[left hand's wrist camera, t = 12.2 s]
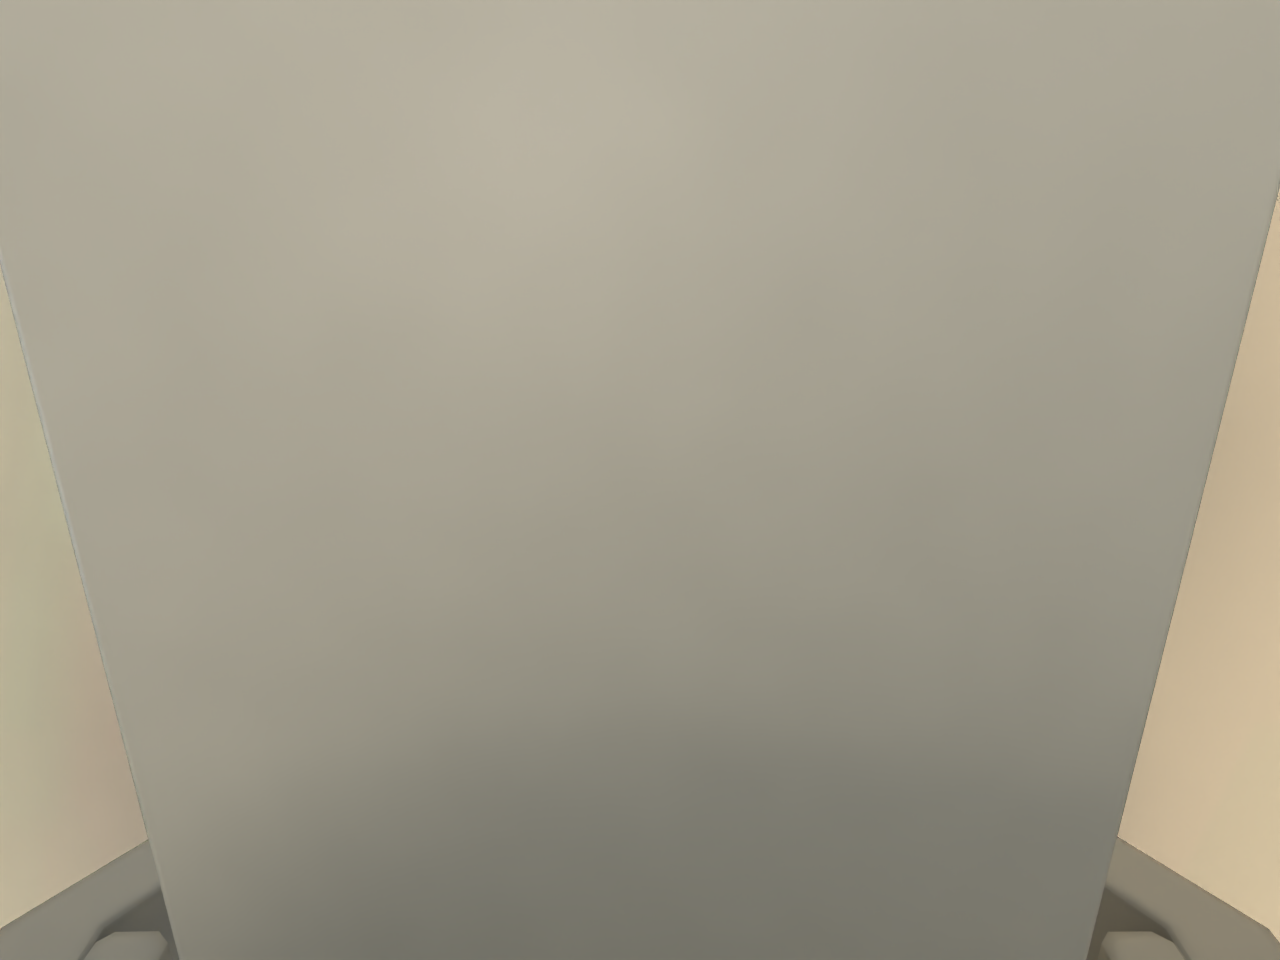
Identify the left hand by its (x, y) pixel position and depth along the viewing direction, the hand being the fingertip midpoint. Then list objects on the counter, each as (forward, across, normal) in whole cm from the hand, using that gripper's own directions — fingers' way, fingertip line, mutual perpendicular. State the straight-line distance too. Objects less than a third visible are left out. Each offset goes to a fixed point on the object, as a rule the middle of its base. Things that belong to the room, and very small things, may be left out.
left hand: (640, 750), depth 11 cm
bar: (+3, 0, +10) cm, 10 cm away
